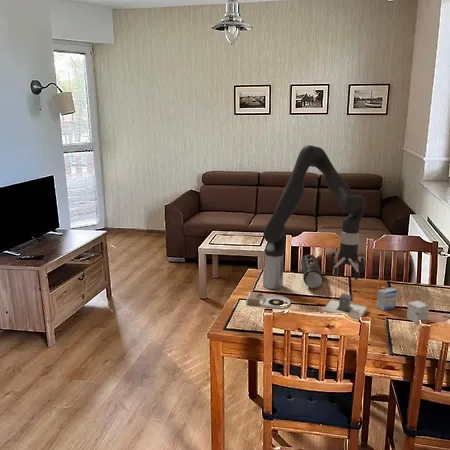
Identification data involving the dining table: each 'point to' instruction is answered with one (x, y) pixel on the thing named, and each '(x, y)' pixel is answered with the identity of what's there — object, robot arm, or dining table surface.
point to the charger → (345, 303)
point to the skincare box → (417, 311)
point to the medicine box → (386, 298)
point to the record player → (266, 300)
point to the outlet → (355, 312)
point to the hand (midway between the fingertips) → (346, 277)
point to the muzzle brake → (311, 272)
